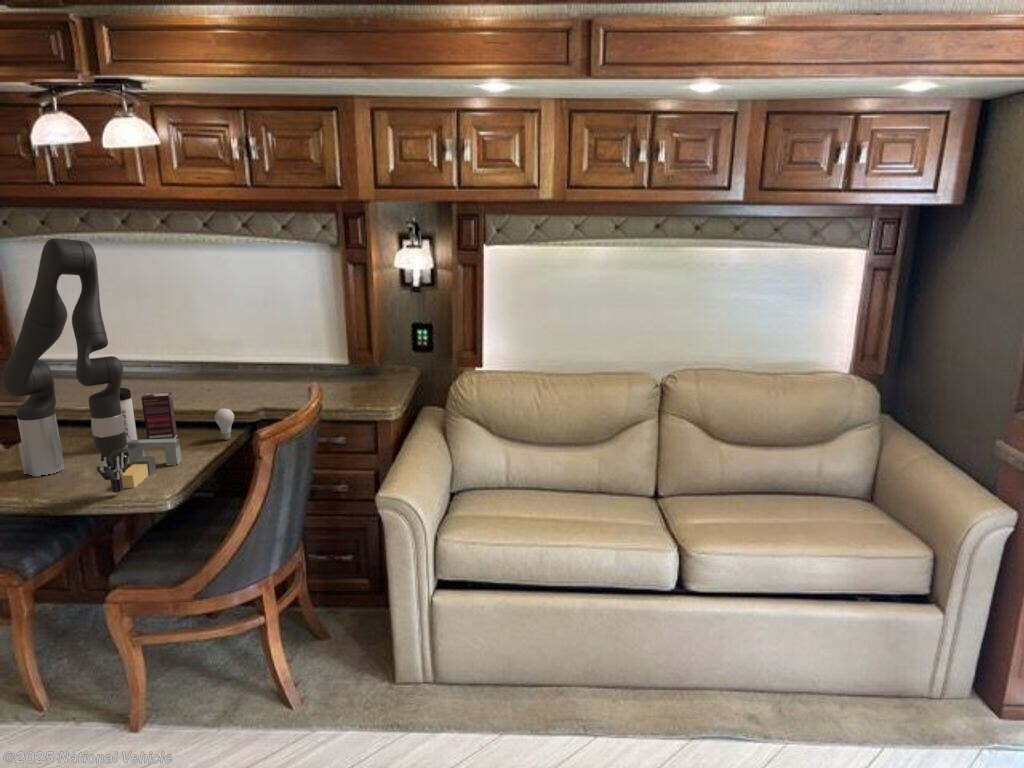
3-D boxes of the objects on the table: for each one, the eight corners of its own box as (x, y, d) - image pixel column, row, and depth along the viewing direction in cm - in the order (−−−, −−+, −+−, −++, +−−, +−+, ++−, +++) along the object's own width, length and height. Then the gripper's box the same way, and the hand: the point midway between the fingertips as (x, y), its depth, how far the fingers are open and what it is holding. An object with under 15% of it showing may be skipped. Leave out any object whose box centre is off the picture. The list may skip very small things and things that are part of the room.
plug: (119, 488, 190) (116, 473, 189) (142, 469, 204) (140, 455, 203) (136, 487, 190) (133, 472, 189) (157, 469, 204) (155, 454, 203)
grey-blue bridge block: (130, 466, 206) (126, 443, 204) (134, 462, 209) (131, 439, 207) (177, 465, 207) (174, 442, 205) (181, 461, 210) (178, 438, 208)
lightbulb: (233, 442, 228) (230, 411, 225) (214, 442, 227) (211, 411, 224) (238, 436, 234) (235, 406, 231) (220, 437, 233) (217, 406, 230)
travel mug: (122, 444, 225) (113, 386, 220) (142, 444, 226) (133, 386, 221) (111, 450, 219) (102, 391, 214) (132, 450, 219) (123, 391, 214)
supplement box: (177, 435, 234) (172, 391, 230) (174, 440, 230) (169, 395, 226) (150, 437, 232) (144, 393, 228) (146, 442, 227) (140, 396, 223)
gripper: (106, 423, 187) (115, 482, 191) (80, 439, 174) (90, 501, 178) (135, 423, 187) (143, 481, 192) (111, 438, 175) (120, 501, 179)
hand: (117, 491), depth 185 cm, fingers closed
